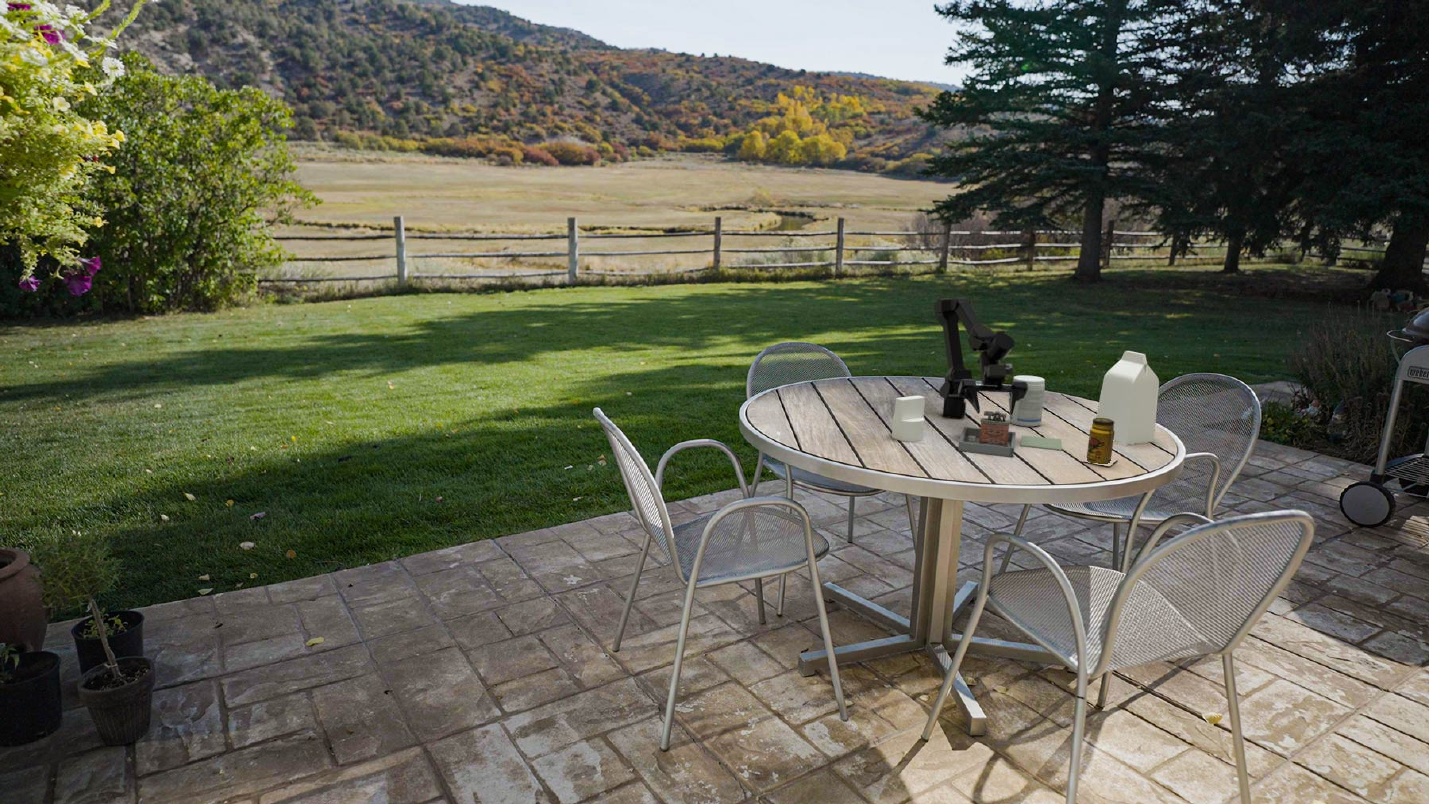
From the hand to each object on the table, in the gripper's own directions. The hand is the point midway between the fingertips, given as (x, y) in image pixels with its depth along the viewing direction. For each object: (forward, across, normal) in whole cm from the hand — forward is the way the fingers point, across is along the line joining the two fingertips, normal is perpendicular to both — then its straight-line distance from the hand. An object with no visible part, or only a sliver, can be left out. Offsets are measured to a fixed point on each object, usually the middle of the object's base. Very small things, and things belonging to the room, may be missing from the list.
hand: (995, 413), depth 242 cm
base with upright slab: (+4, -24, +9) cm, 26 cm away
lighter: (+8, 0, +6) cm, 9 cm away
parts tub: (+8, -2, +5) cm, 9 cm away
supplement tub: (-12, +15, +24) cm, 31 cm away
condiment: (+16, +26, -2) cm, 30 cm away
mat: (+4, +14, +8) cm, 17 cm away
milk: (-3, +41, +16) cm, 44 cm away
